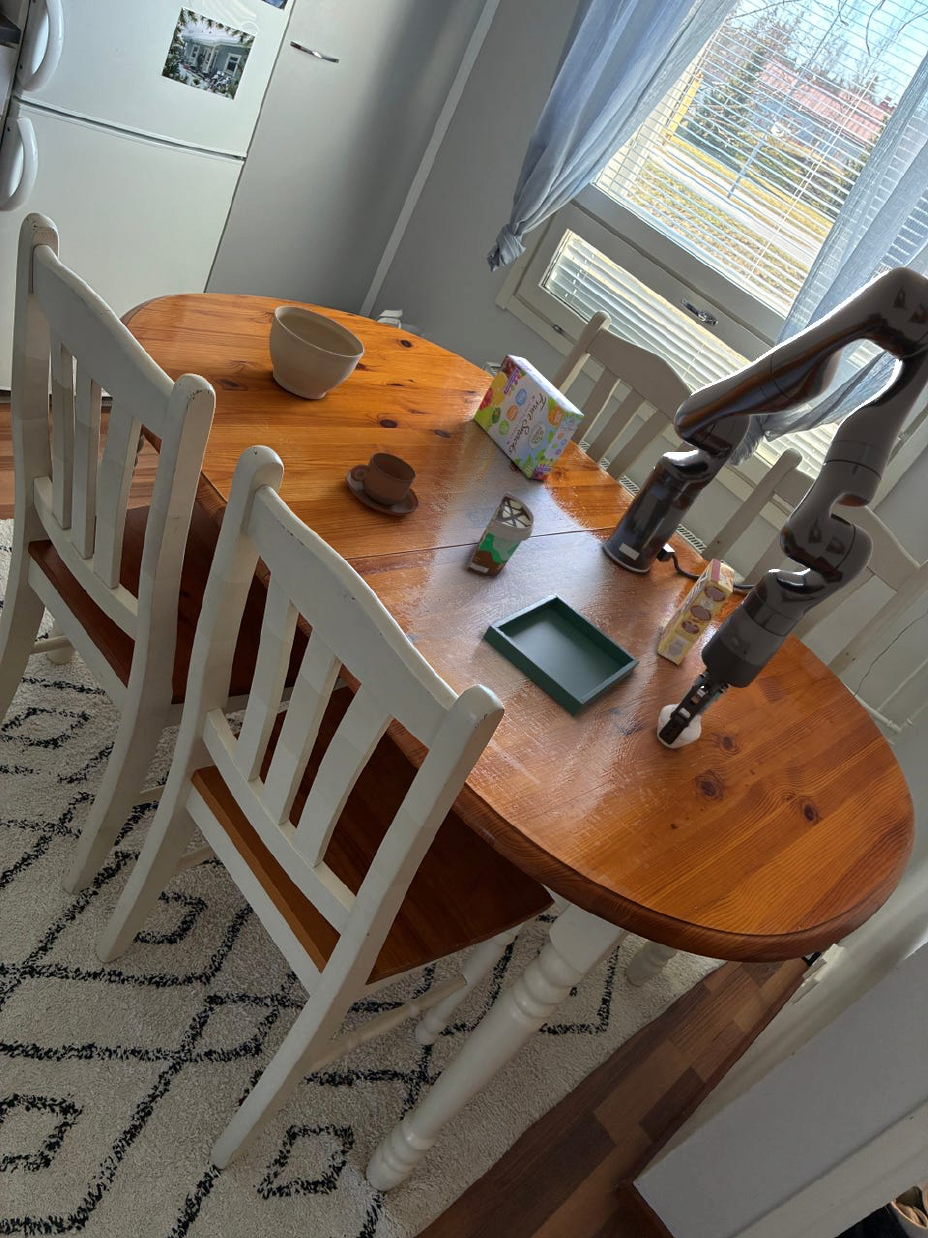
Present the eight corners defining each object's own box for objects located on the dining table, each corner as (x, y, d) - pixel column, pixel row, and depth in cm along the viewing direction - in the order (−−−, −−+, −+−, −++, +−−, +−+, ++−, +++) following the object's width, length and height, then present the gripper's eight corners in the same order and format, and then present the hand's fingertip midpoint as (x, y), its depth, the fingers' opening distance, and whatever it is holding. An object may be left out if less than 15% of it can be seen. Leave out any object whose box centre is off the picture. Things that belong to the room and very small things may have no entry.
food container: (501, 593, 141) (532, 541, 136) (464, 574, 141) (494, 521, 135) (512, 557, 152) (541, 508, 146) (478, 540, 151) (507, 489, 146)
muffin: (661, 756, 127) (690, 721, 123) (640, 722, 131) (667, 687, 127) (693, 757, 130) (722, 722, 127) (671, 724, 134) (699, 690, 131)
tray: (548, 603, 145) (555, 592, 144) (631, 672, 140) (640, 661, 139) (482, 637, 129) (489, 625, 128) (573, 716, 125) (582, 704, 123)
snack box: (548, 481, 183) (586, 415, 175) (527, 479, 179) (566, 412, 171) (491, 420, 194) (525, 356, 186) (471, 417, 190) (504, 351, 183)
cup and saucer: (370, 524, 140) (386, 490, 136) (328, 476, 145) (342, 442, 142) (427, 521, 148) (444, 489, 145) (385, 475, 154) (400, 444, 151)
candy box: (678, 666, 148) (734, 593, 141) (655, 653, 149) (710, 579, 141) (682, 641, 156) (736, 570, 148) (660, 628, 156) (713, 556, 148)
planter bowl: (335, 422, 161) (359, 366, 155) (245, 382, 157) (266, 323, 151) (347, 388, 174) (369, 335, 168) (264, 350, 170) (284, 295, 165)
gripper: (752, 679, 114) (679, 766, 122) (783, 646, 126) (714, 729, 134) (703, 639, 116) (634, 728, 125) (738, 611, 128) (672, 694, 136)
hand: (675, 728), depth 129 cm, fingers open, 8 cm apart
